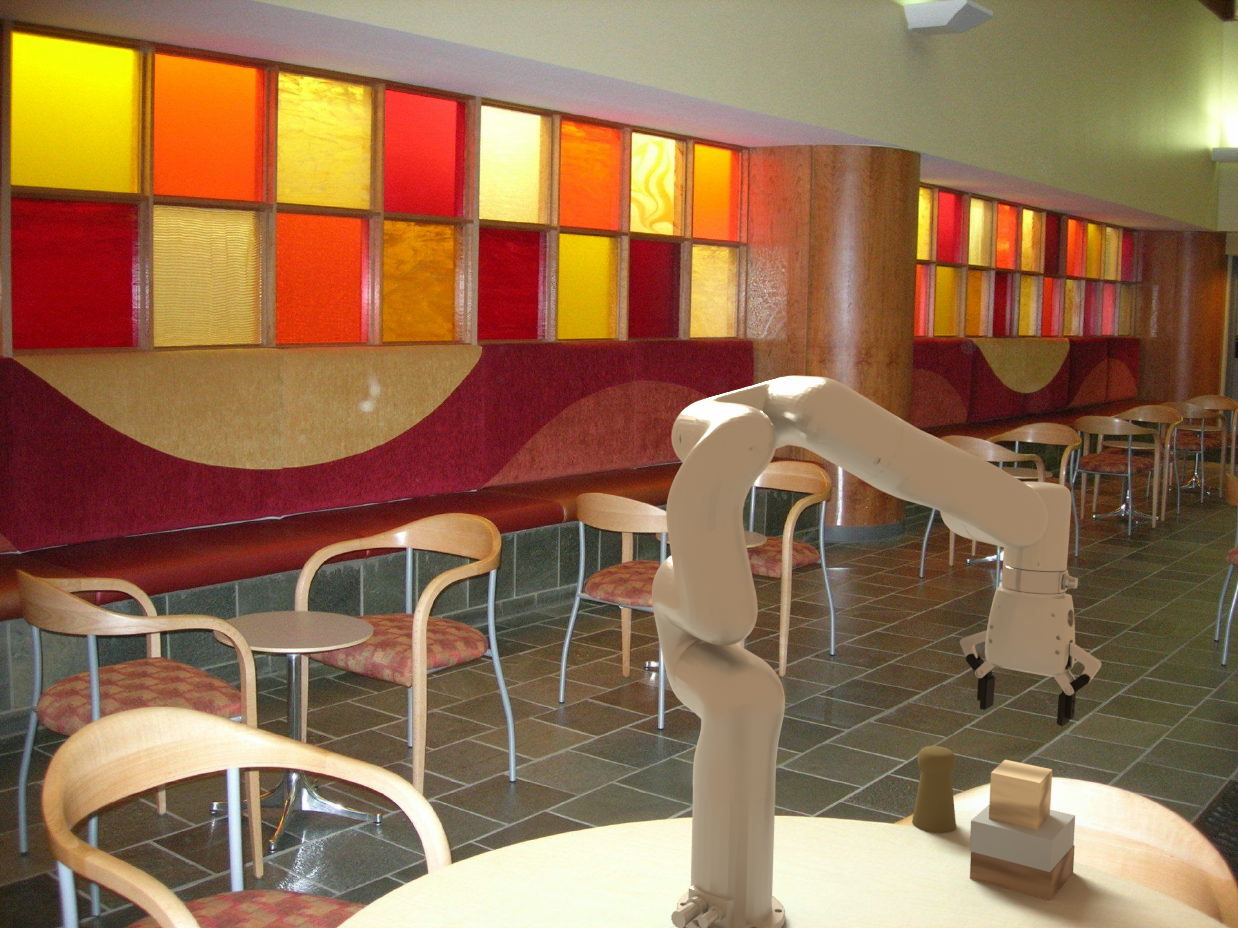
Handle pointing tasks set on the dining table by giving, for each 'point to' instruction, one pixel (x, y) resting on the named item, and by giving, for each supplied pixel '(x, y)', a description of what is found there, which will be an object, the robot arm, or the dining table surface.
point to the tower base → (1022, 875)
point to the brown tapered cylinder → (935, 791)
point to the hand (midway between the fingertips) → (1024, 715)
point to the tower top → (1024, 840)
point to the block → (1020, 794)
